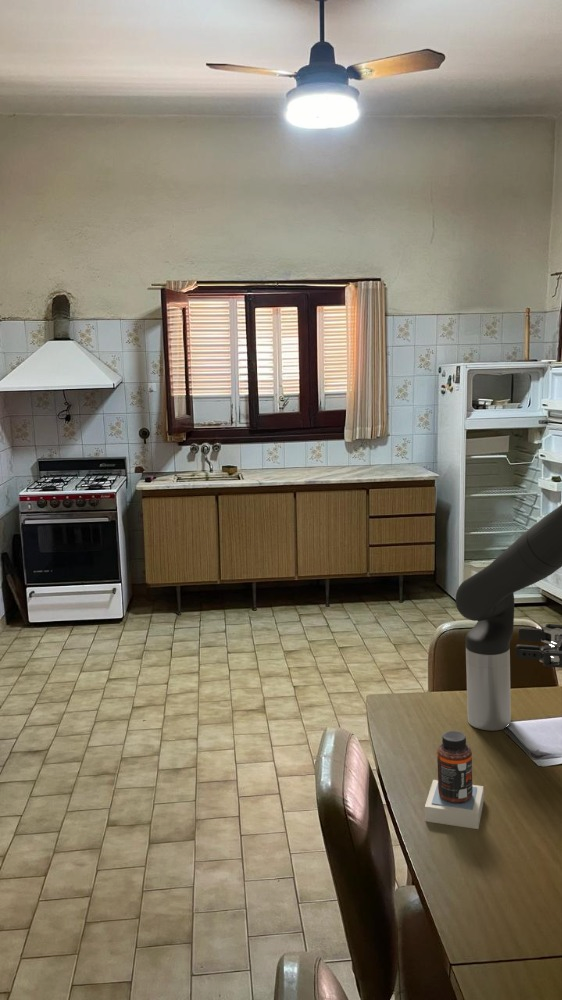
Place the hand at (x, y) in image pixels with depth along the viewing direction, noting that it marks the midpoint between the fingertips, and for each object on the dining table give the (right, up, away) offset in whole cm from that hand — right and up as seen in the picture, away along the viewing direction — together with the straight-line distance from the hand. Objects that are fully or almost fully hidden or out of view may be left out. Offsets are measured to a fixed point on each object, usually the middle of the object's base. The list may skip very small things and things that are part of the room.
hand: (517, 642), depth 130 cm
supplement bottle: (-10, -28, +3) cm, 30 cm away
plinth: (-10, -31, +3) cm, 32 cm away
